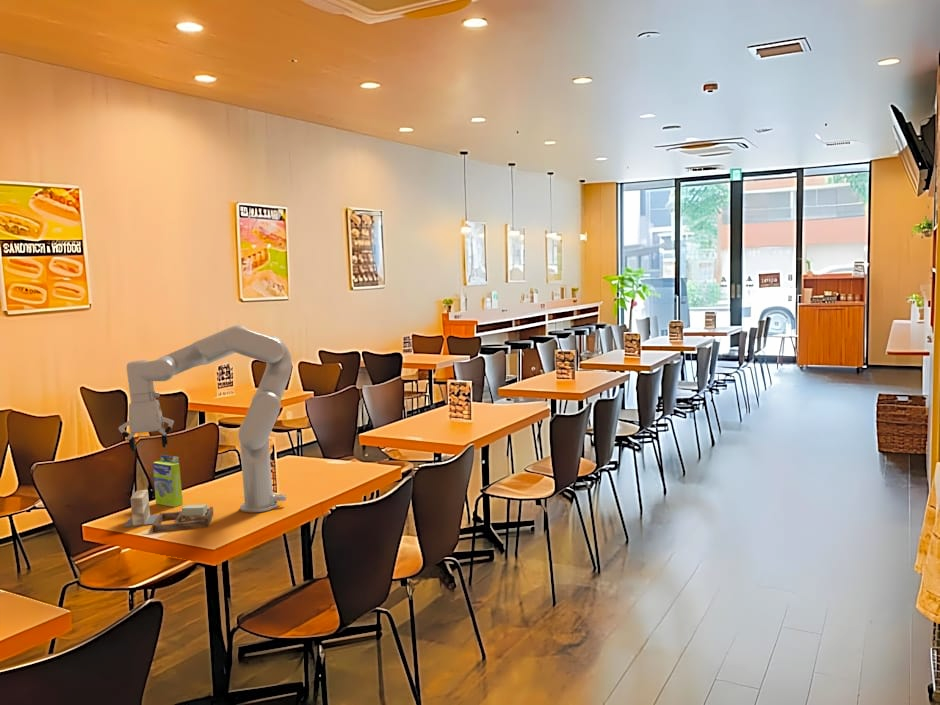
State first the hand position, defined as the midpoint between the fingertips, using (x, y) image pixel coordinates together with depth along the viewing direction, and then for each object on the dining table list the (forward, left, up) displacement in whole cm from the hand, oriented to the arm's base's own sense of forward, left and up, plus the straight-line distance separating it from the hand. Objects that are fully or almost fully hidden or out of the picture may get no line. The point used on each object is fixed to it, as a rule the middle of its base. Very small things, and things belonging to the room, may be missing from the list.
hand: (149, 448), depth 263 cm
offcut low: (-14, +8, -25) cm, 29 cm away
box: (-2, -17, -24) cm, 30 cm away
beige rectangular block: (+4, +1, -24) cm, 24 cm away
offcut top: (-14, +8, -22) cm, 27 cm away
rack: (-10, +8, -24) cm, 27 cm away
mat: (+4, +1, -24) cm, 25 cm away
